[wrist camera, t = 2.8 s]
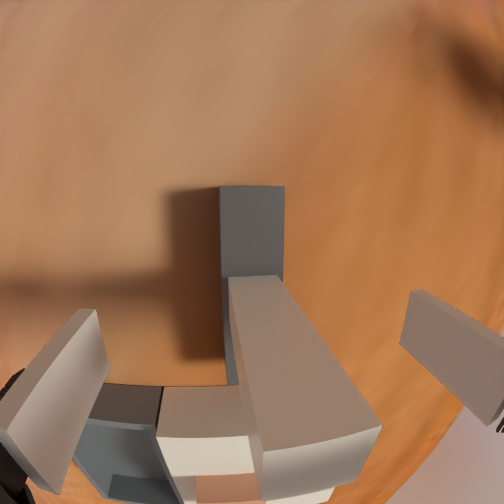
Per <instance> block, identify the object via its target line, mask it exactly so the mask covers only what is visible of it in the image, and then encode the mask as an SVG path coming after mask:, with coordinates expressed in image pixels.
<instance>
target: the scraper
mask: <svg viewBox="0 0 504 504" xmlns="http://www.w3.org/2000/svg"><path fill="white" fill-rule="evenodd" d="M219 235H220V271H221V297H222V319H223V339H224V356H225V367H226V377H227V385H237V384H239V387H240V393H241V399H242V405H243V411H244V417H245V423H246V428H247V434H248V440H249V445H250V450H251V456H252V461H253V466H254V471H255V477H256V482H257V487H258V491H259V496H260V501H261V502H263V501H270V500H277V499H283V498H289V497H295V496H300V495H305V494H309V493H314V492H318V491H322V490H326V489H330V488H334V487H337V486H341V485H344V484H348V483H351V482H354V481H355V480H356V479H357V477H358V475H359V473H360V471H361V469H362V468H363V466H364V464H365V462H366V460H367V458H368V456H369V454H370V452H371V450H372V448H373V446H374V443H375V441H376V439H377V437H378V435H379V433H380V430H381V428H382V426H383V424H382V423H381V422H380V420H379V419H378V417H377V416H376V414H375V413H374V411H373V410H372V409H371V407H370V406H369V404H368V403H367V401H366V400H365V399H364V397H363V396H362V394H361V393H360V391H359V390H358V389H357V387H356V386H355V384H354V383H353V381H352V380H351V379H350V377H349V376H348V374H347V373H346V371H345V370H344V369H343V367H342V366H341V364H340V363H339V362H338V360H337V359H336V357H335V356H334V354H333V353H332V352H331V350H330V349H329V347H328V346H327V345H326V343H325V342H324V340H323V339H322V337H321V336H320V335H319V333H318V332H317V330H316V329H315V328H314V326H313V325H312V323H311V322H310V321H309V319H308V318H307V316H306V315H305V314H304V312H303V311H302V309H301V308H300V307H299V305H298V304H297V302H296V301H295V299H294V298H293V297H292V295H291V294H290V292H289V291H288V290H287V288H286V287H285V285H284V284H283V252H284V186H223V187H219Z"/></svg>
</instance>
